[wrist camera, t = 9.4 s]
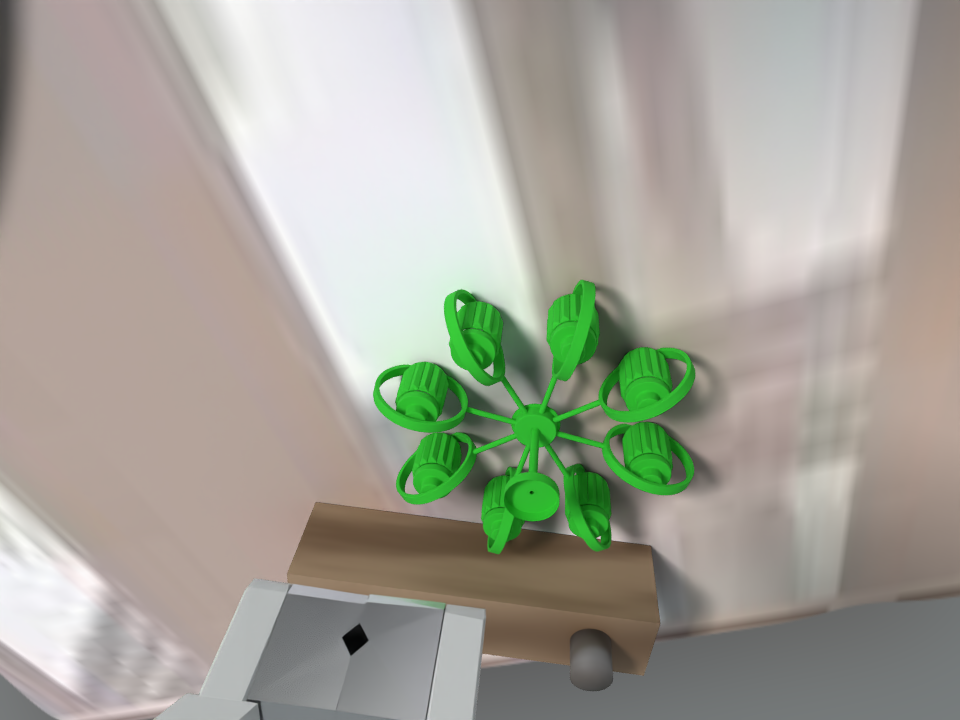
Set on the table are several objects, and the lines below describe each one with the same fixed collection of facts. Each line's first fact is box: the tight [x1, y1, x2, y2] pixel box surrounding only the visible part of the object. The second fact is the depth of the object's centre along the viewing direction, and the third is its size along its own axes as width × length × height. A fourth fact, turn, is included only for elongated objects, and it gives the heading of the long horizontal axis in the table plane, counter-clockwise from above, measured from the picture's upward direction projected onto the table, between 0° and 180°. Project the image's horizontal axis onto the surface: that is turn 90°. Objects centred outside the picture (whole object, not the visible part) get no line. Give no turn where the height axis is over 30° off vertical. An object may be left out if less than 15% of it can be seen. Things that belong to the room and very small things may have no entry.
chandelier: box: [373, 280, 695, 554], centre depth 34 cm, size 15×15×7 cm
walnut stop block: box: [287, 502, 660, 691], centre depth 39 cm, size 4×18×7 cm, turn 85°
